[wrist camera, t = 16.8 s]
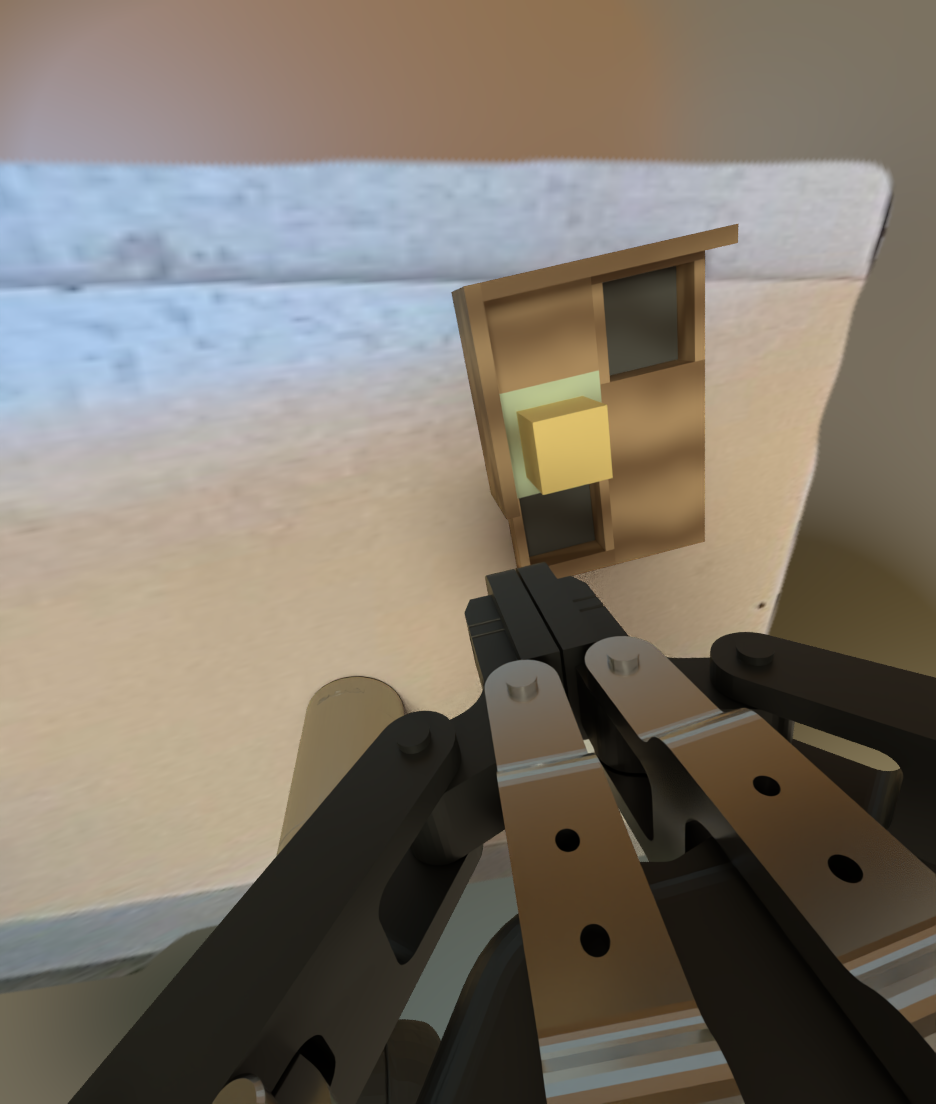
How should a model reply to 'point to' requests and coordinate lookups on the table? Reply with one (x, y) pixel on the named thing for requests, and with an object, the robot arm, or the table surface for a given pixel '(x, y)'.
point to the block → (565, 444)
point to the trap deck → (598, 396)
